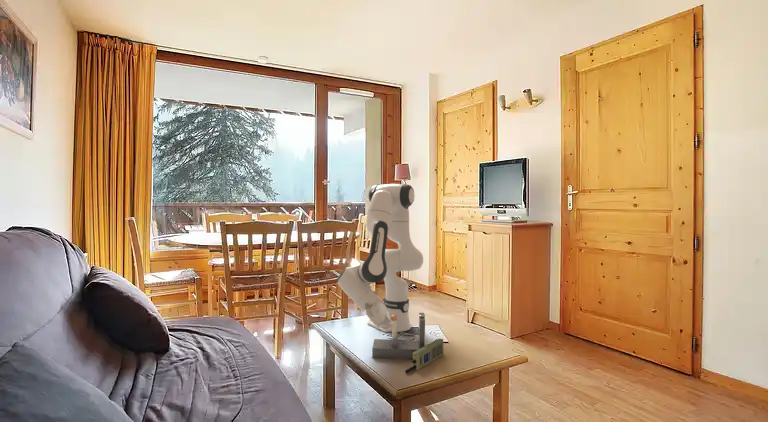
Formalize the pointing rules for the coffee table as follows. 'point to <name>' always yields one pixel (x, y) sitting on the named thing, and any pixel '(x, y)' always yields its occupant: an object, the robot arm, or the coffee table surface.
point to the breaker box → (400, 345)
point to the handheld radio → (426, 354)
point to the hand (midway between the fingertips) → (390, 325)
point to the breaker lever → (394, 327)
